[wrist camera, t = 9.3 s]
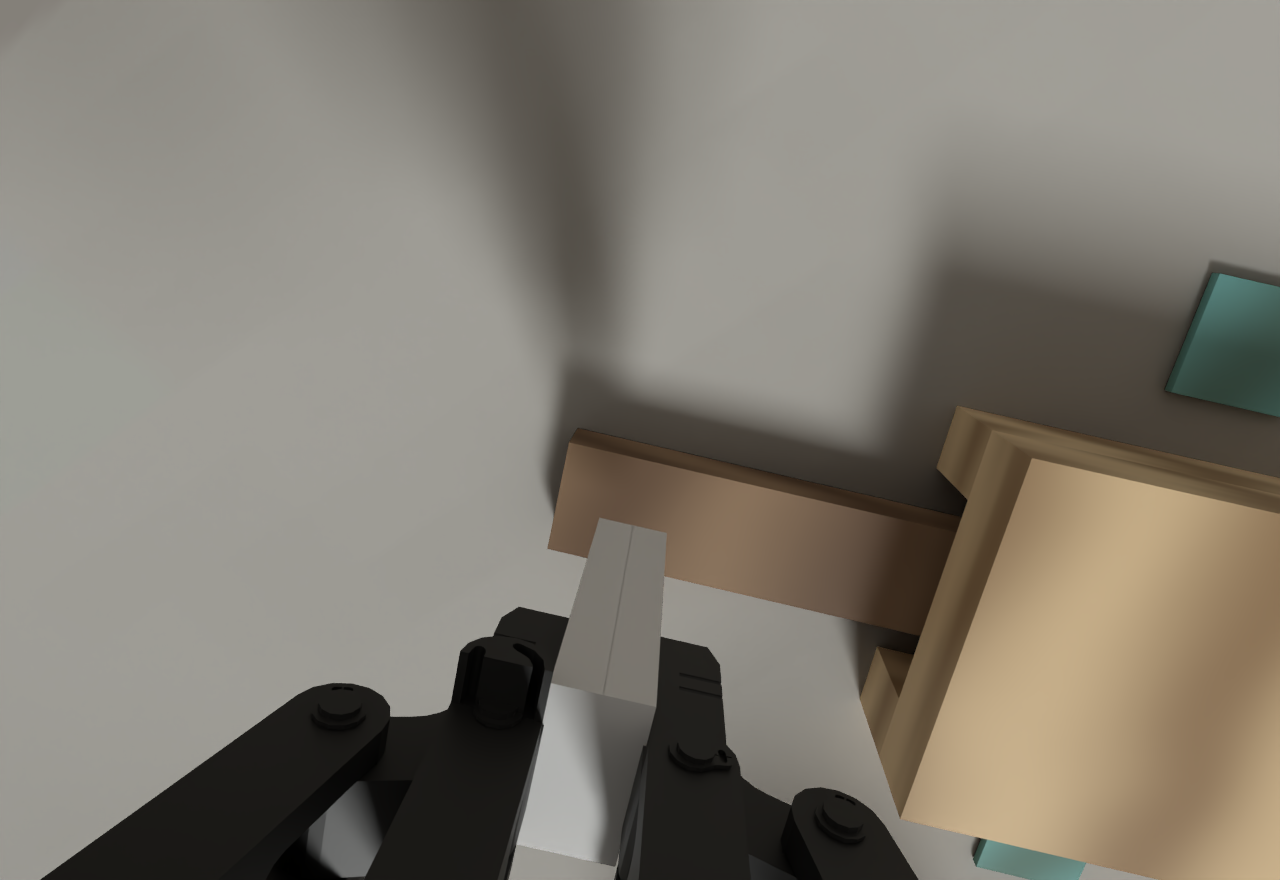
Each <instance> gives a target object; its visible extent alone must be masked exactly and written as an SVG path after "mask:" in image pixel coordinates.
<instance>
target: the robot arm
mask: <svg viewBox="0 0 1280 880" xmlns="http://www.w3.org/2000/svg"><path fill="white" fill-rule="evenodd" d="M666 537H667V533H664V532H660V531H656V530H651V529H647V528H642V527H638V526H634V525H629V524H625V523H620V522H616V521H612V520H607V519H603V518H599V521H598V524H597V528H596V531H595V534H594V538H593V541H592V545H591V548H590V551H589V555H588V558H587V561H586V565H585V568H584V571H583V575H582V578H581V581H580V585H579V588H578V591H577V595H576V598H575V601H574V605H573V608H572V611H571V615H570V618H566V617H562V616H557V615H553V614H548V613H544V612H540V611H535V610H531V609H526V608H522V607H518V608H516V609H515V610H513V611H511V612H510V613H508V614H507V615H505V616H503V617H502V618H501V620H500V622H499V624H498V626H497V628H496V630H495V632H494V636H493V637H484V638H480V639H477V640H475V641H472V642H470V643H468V644H467V645H466V646H465V647H464V648H463V649H462V650H461V651H460V656H459V661H458V667H457V673H456V678H455V684H454V689H453V695H452V700H451V704H450V706H449V708H448V709H447V710H445V711H443V712H440V713H437V714H432V715H428V716H417V717H390V706H389V704H388V703H387V702H386V700H385V699H384V697H383V696H382V695H380V694H378V693H377V692H375V691H373V690H372V689H370V688H367V687H363V686H359V685H355V684H346V683H331V684H326V685H321V686H316V687H312V688H310V689H308V690H306V691H304V692H302V693H300V694H298V695H297V696H295V697H294V698H293V699H291V700H290V701H288V702H287V703H286V704H284V705H283V706H281V707H280V708H279V709H277V710H276V711H274V712H273V713H272V714H270V715H269V716H267V717H266V718H265V719H263V720H262V721H261V722H259V723H258V724H256V725H255V726H254V727H252V728H251V729H249V730H248V731H247V732H245V733H244V734H242V735H241V736H240V737H238V738H237V739H235V740H234V741H233V742H231V743H230V744H229V745H227V746H226V747H224V748H223V749H222V750H220V751H219V752H217V753H216V754H215V755H213V756H212V757H210V758H209V759H208V760H206V761H205V762H203V763H202V764H201V765H199V766H198V767H196V768H195V769H194V770H192V771H191V772H190V773H188V774H187V775H185V776H184V777H183V778H181V779H180V780H178V781H177V782H176V783H174V784H173V785H171V786H170V787H169V788H167V789H166V790H164V791H163V792H162V793H160V794H159V795H158V796H156V797H155V798H153V799H152V800H151V801H149V802H148V803H146V804H145V805H144V806H142V807H141V808H139V809H138V810H137V811H135V812H134V813H132V814H131V815H130V816H128V817H127V818H126V819H124V820H123V821H121V822H120V823H119V824H117V825H116V826H114V827H113V828H112V829H110V830H109V831H107V832H106V833H105V834H103V835H102V836H100V837H99V838H98V839H96V840H95V841H94V842H92V843H91V844H89V845H88V846H87V847H85V848H84V849H82V850H81V851H80V852H78V853H77V854H75V855H74V856H73V857H71V858H70V859H68V860H67V861H66V862H64V863H63V864H61V865H60V866H59V867H57V868H56V869H55V870H53V871H52V872H50V873H49V874H48V875H46V876H45V877H43V878H42V879H41V880H508V879H509V875H510V871H511V866H512V862H513V857H514V853H515V848H516V844H517V845H522V846H526V847H531V848H535V849H539V850H544V851H548V852H553V853H557V854H562V855H566V856H570V857H575V858H579V859H584V860H588V861H592V862H597V863H601V864H606V865H610V866H616V862H617V858H618V854H619V861H618V867H617V871H616V875H615V879H614V880H918V878H917V877H916V875H915V873H914V872H913V870H912V869H911V867H910V865H909V864H908V862H907V861H906V859H905V857H904V856H903V854H902V852H901V851H900V849H899V848H898V846H897V844H896V843H895V841H894V840H893V838H892V836H891V835H890V833H889V831H888V830H887V828H886V827H885V825H884V824H883V823H882V821H881V820H880V819H879V818H878V817H877V816H876V814H875V813H874V812H873V811H872V810H871V809H869V808H868V807H867V806H865V805H864V804H863V803H861V802H860V801H858V800H857V799H855V798H853V797H851V796H849V795H846V794H845V793H842V792H840V791H836V790H831V789H826V788H821V787H820V788H810V789H805V790H803V791H801V792H800V793H798V794H797V795H795V797H794V800H793V803H792V805H789V804H787V803H785V802H782V801H780V800H778V799H776V798H774V797H772V796H770V795H768V794H766V793H764V792H762V791H760V790H758V789H757V788H755V787H754V786H752V785H751V784H750V783H748V782H747V781H746V780H744V779H743V778H742V777H741V773H740V766H739V763H738V761H737V758H736V755H735V754H734V753H733V752H732V751H731V749H730V748H729V747H728V746H727V745H726V735H725V723H724V710H723V699H722V686H721V673H720V664H719V663H718V662H717V660H716V659H715V657H714V656H713V655H712V653H711V652H710V650H709V649H708V647H703V646H699V645H694V644H690V643H686V642H681V641H677V640H672V639H668V638H664V637H661V620H662V604H663V587H664V571H665V554H666ZM619 850H620V852H619Z"/></svg>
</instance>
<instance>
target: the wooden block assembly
mask: <svg viewBox="0 0 1280 880" xmlns="http://www.w3.org/2000/svg"><path fill="white" fill-rule="evenodd" d="M1165 390H1166V391H1169V392H1172V393H1177V394H1181V395H1185V396H1190V397H1194V398H1199V399H1203V400H1207V401H1212V402H1216V403H1220V404H1225V405H1229V406H1234V407H1238V408H1242V409H1247V410H1251V411H1255V412H1260V413H1264V414H1269V415H1273V416H1277V417H1280V287H1277V286H1273V285H1269V284H1264V283H1260V282H1255V281H1251V280H1246V279H1242V278H1238V277H1233V276H1229V275H1224V274H1220V273H1212V275H1211V277H1210V280H1209V282H1208V285H1207V287H1206V290H1205V292H1204V294H1203V297H1202V299H1201V302H1200V304H1199V307H1198V309H1197V312H1196V314H1195V317H1194V319H1193V321H1192V324H1191V326H1190V329H1189V331H1188V334H1187V336H1186V339H1185V341H1184V343H1183V346H1182V348H1181V351H1180V353H1179V356H1178V358H1177V361H1176V363H1175V366H1174V368H1173V370H1172V373H1171V375H1170V378H1169V380H1168V383H1167V385H1166V388H1165ZM599 518H603V519H607V520H612V521H616V522H620V523H625V524H629V525H634V526H638V527H642V528H647V529H651V530H656V531H660V532H664V533H667V537H666V554H665V571H664V576H666V577H671V578H675V579H679V580H683V581H688V582H692V583H696V584H700V585H705V586H709V587H713V588H717V589H722V590H726V591H730V592H735V593H739V594H743V595H747V596H752V597H756V598H760V599H764V600H769V601H773V602H777V603H781V604H786V605H790V606H794V607H799V608H803V609H807V610H811V611H816V612H820V613H824V614H828V615H833V616H837V617H841V618H846V619H850V620H854V621H858V622H863V623H867V624H871V625H875V626H880V627H884V628H888V629H892V630H897V631H901V632H905V633H910V634H914V635H918V636H921V634H922V631H923V628H924V625H925V622H926V619H927V616H928V613H929V611H930V608H931V605H932V602H933V599H934V596H935V593H936V590H937V588H938V585H939V582H940V579H941V576H942V573H943V570H944V567H945V564H946V562H947V559H948V556H949V553H950V550H951V547H952V544H953V541H954V539H955V536H956V533H957V530H958V527H959V524H960V521H961V518H962V517H959V516H955V515H950V514H946V513H942V512H938V511H933V510H929V509H925V508H920V507H916V506H912V505H907V504H903V503H899V502H894V501H890V500H886V499H881V498H877V497H873V496H869V495H864V494H860V493H856V492H851V491H847V490H843V489H838V488H834V487H830V486H825V485H821V484H817V483H812V482H808V481H804V480H799V479H795V478H791V477H787V476H782V475H778V474H774V473H769V472H765V471H761V470H756V469H752V468H748V467H743V466H739V465H735V464H730V463H726V462H722V461H718V460H713V459H709V458H705V457H700V456H696V455H692V454H687V453H683V452H679V451H674V450H670V449H666V448H661V447H657V446H653V445H649V444H644V443H640V442H636V441H631V440H627V439H623V438H618V437H614V436H610V435H605V434H601V433H597V432H592V431H588V430H584V429H580V428H578V429H577V430H576V432H575V433H574V435H573V437H572V438H571V440H570V442H569V445H568V450H567V454H566V459H565V464H564V469H563V474H562V479H561V484H560V489H559V494H558V499H557V504H556V509H555V514H554V519H553V524H552V529H551V534H550V539H549V544H548V549H551V550H555V551H560V552H564V553H568V554H572V555H577V556H581V557H585V558H588V555H589V551H590V548H591V545H592V541H593V538H594V534H595V531H596V528H597V524H598V521H599ZM973 860H974V863H975V865H976V867H980V868H984V869H988V870H992V871H997V872H1001V873H1005V874H1009V875H1013V876H1018V877H1022V878H1026V879H1030V880H1079V877H1080V875H1081V873H1082V871H1083V869H1084V866H1085V864H1086V862H1081V861H1077V860H1073V859H1069V858H1064V857H1060V856H1056V855H1051V854H1047V853H1043V852H1039V851H1034V850H1030V849H1026V848H1021V847H1017V846H1013V845H1009V844H1004V843H1000V842H996V841H992V840H987V839H983V838H981V841H980V843H979V846H978V848H977V850H976V853H975V855H974V858H973Z"/></svg>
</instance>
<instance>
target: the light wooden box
mask: <svg viewBox="0 0 1280 880" xmlns="http://www.w3.org/2000/svg"><path fill="white" fill-rule="evenodd" d="M936 468H937V469H938V470H939V471H940V472H941V473H942V474H943V475H944V476H945V477H946V478H947V479H948V480H949V481H950V482H951V483H952V484H953V485H954V486H955V487H956V488H957V489H958V490H959V491H960V492H961V494H962V495H963V496H964V497H965V498H966V499H967V500H968V501H967V504H966V507H965V510H964V513H963V516H962V518H961V521H960V524H959V527H958V530H957V533H956V536H955V539H954V541H953V544H952V547H951V550H950V553H949V556H948V559H947V562H946V564H945V567H944V570H943V573H942V576H941V579H940V582H939V585H938V588H937V590H936V593H935V596H934V599H933V602H932V605H931V608H930V611H929V613H928V616H927V619H926V622H925V625H924V628H923V631H922V634H921V636H920V639H919V642H918V645H917V648H916V651H915V654H914V655H912V654H907V653H903V652H899V651H894V650H890V649H886V648H881V647H877V648H876V651H875V654H874V657H873V660H872V663H871V666H870V669H869V672H868V675H867V678H866V681H865V684H864V687H863V690H862V693H861V696H860V701H861V704H862V707H863V710H864V713H865V716H866V719H867V722H868V725H869V728H870V731H871V734H872V737H873V739H874V742H875V745H876V748H877V751H878V754H879V757H880V760H881V763H882V766H883V769H884V772H885V775H886V778H887V781H888V784H889V787H890V790H891V793H892V796H893V799H894V802H895V805H896V808H897V811H898V814H899V817H900V819H902V820H906V821H910V822H914V823H919V824H923V825H927V826H932V827H936V828H940V829H944V830H949V831H953V832H957V833H962V834H966V835H970V836H974V837H979V838H983V839H987V840H992V841H996V842H1000V843H1004V844H1009V845H1013V846H1017V847H1021V848H1026V849H1030V850H1034V851H1039V852H1043V853H1047V854H1051V855H1056V856H1060V857H1064V858H1069V859H1073V860H1077V861H1081V862H1086V863H1090V864H1094V865H1099V866H1103V867H1107V868H1111V869H1116V870H1120V871H1124V872H1128V873H1133V874H1137V875H1141V876H1146V877H1150V878H1154V879H1158V880H1280V478H1277V477H1272V476H1268V475H1264V474H1259V473H1255V472H1250V471H1246V470H1241V469H1237V468H1232V467H1228V466H1223V465H1219V464H1215V463H1210V462H1206V461H1201V460H1197V459H1192V458H1188V457H1183V456H1179V455H1175V454H1170V453H1166V452H1161V451H1157V450H1152V449H1148V448H1143V447H1139V446H1135V445H1130V444H1126V443H1121V442H1117V441H1112V440H1108V439H1103V438H1099V437H1095V436H1090V435H1086V434H1081V433H1077V432H1072V431H1068V430H1063V429H1059V428H1055V427H1050V426H1046V425H1041V424H1037V423H1032V422H1028V421H1023V420H1019V419H1014V418H1010V417H1006V416H1001V415H997V414H992V413H988V412H983V411H979V410H974V409H970V408H966V407H961V406H957V407H956V410H955V413H954V416H953V419H952V422H951V425H950V428H949V431H948V434H947V437H946V440H945V443H944V446H943V449H942V452H941V455H940V458H939V461H938V464H937V467H936Z"/></svg>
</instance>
